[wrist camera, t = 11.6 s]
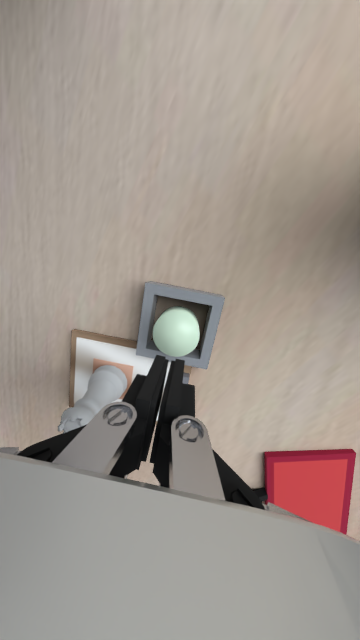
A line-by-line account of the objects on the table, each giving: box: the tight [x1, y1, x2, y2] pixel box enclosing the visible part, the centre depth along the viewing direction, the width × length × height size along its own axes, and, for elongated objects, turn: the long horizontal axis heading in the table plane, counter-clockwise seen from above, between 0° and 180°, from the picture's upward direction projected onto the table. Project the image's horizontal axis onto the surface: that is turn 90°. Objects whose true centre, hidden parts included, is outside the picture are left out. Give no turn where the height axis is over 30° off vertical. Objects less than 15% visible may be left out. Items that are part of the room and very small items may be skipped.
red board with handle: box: [254, 449, 356, 534], centre depth 29 cm, size 30×3×15 cm
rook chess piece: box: [58, 365, 127, 433], centre depth 20 cm, size 4×4×8 cm
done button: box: [153, 306, 200, 357], centre depth 19 cm, size 4×4×3 cm
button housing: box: [136, 281, 225, 369], centre depth 21 cm, size 8×8×2 cm
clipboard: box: [69, 329, 192, 425], centre depth 24 cm, size 11×15×2 cm
